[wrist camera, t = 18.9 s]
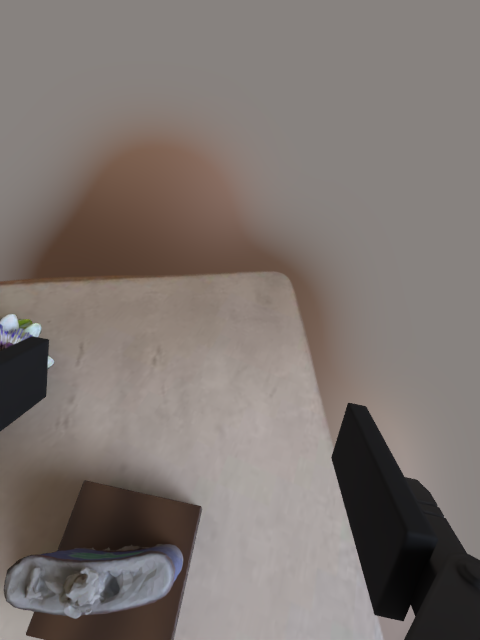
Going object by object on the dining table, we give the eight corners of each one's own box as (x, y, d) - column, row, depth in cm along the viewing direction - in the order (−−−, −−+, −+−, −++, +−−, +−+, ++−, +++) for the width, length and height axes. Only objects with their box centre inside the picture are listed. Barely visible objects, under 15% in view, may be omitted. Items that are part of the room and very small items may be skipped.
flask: (184, 542, 28) (173, 552, 19) (182, 588, 27) (169, 625, 17) (62, 546, 27) (-13, 559, 18) (53, 594, 26) (-33, 635, 16)
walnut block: (202, 508, 34) (201, 506, 29) (172, 642, 30) (166, 668, 24) (102, 486, 35) (84, 480, 30) (56, 615, 30) (24, 635, 25)
